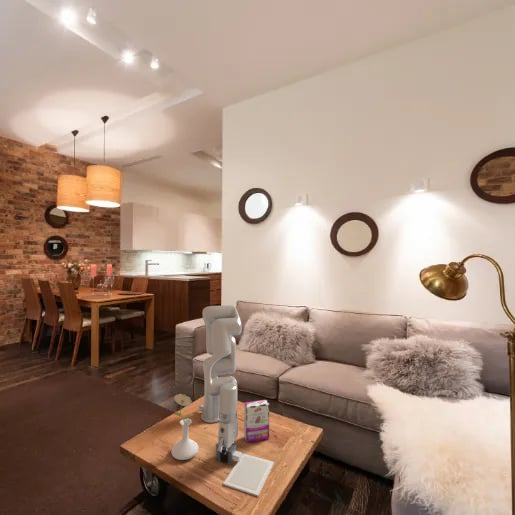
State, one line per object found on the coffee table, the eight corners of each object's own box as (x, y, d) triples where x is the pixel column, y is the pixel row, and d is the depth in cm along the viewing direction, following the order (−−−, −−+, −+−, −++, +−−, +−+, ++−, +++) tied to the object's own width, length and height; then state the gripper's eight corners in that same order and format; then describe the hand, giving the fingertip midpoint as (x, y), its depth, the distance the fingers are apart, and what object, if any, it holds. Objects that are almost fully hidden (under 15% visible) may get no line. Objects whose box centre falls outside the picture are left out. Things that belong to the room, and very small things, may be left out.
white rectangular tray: (223, 484, 107) (223, 483, 107) (243, 454, 124) (243, 453, 124) (258, 496, 102) (258, 494, 102) (274, 463, 119) (274, 461, 119)
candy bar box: (266, 433, 140) (266, 399, 140) (269, 439, 135) (269, 404, 135) (243, 436, 137) (244, 401, 137) (246, 443, 132) (246, 407, 132)
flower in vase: (204, 451, 126) (205, 394, 126) (184, 467, 116) (185, 404, 116) (183, 440, 133) (184, 386, 133) (163, 454, 123) (164, 396, 123)
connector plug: (213, 459, 121) (213, 447, 121) (218, 452, 125) (219, 440, 125) (238, 466, 117) (238, 454, 117) (242, 459, 121) (242, 447, 121)
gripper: (226, 427, 112) (225, 474, 112) (244, 406, 128) (243, 447, 128) (209, 423, 115) (209, 469, 115) (229, 403, 131) (228, 443, 130)
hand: (227, 457), depth 121 cm, fingers open, 5 cm apart
